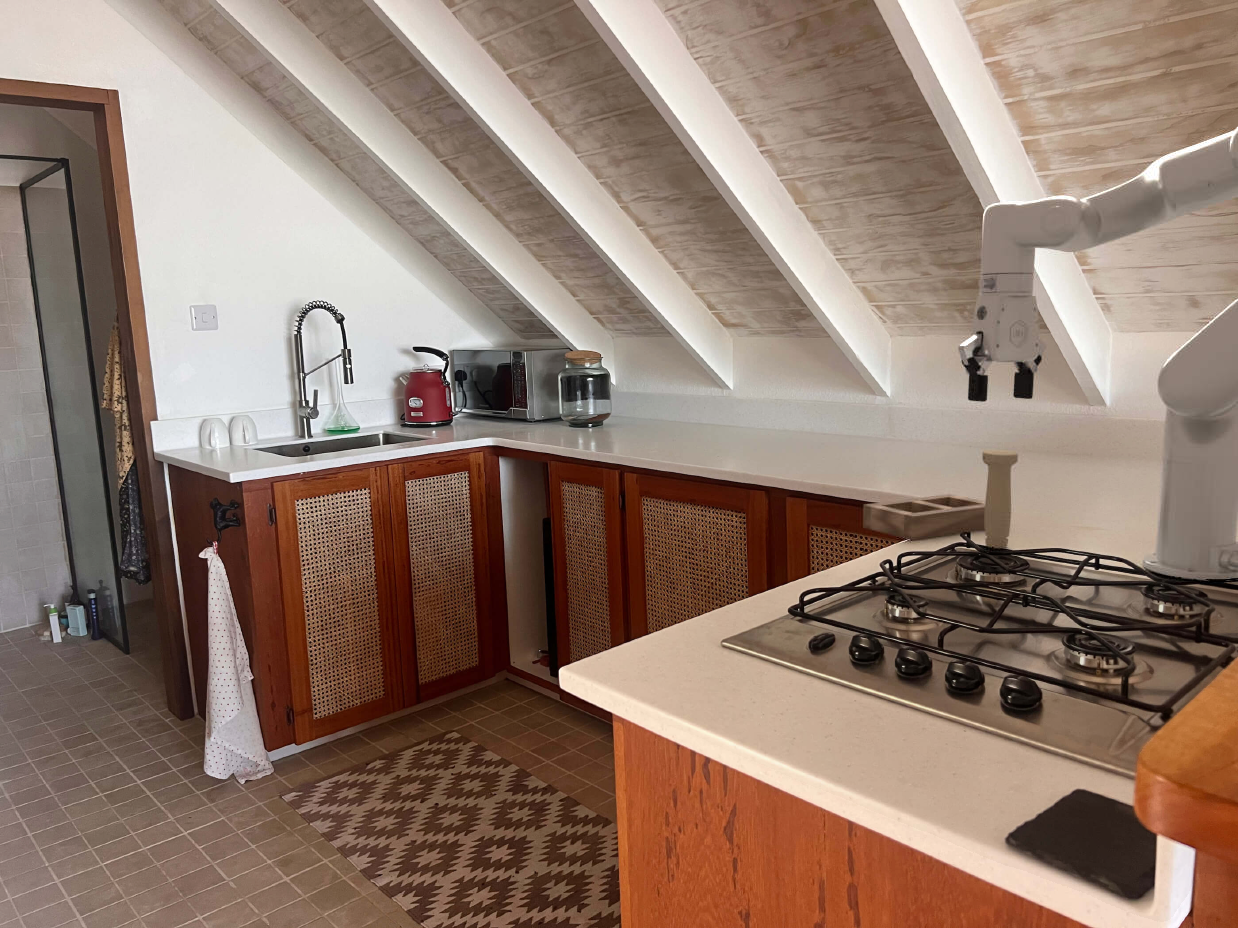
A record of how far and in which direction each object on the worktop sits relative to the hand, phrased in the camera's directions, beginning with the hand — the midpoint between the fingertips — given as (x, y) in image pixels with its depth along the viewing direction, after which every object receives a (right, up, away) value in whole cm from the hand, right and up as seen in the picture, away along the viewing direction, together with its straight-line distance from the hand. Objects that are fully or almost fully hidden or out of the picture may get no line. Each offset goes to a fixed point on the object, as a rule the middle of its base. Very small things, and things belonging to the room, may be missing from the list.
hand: (1000, 399), depth 148 cm
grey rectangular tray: (-5, -21, +18) cm, 28 cm away
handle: (+1, -23, +3) cm, 23 cm away
